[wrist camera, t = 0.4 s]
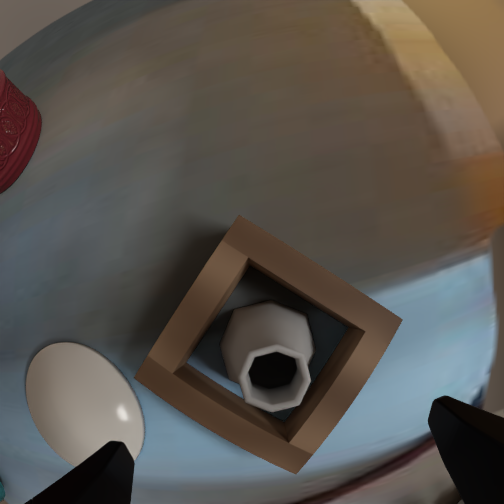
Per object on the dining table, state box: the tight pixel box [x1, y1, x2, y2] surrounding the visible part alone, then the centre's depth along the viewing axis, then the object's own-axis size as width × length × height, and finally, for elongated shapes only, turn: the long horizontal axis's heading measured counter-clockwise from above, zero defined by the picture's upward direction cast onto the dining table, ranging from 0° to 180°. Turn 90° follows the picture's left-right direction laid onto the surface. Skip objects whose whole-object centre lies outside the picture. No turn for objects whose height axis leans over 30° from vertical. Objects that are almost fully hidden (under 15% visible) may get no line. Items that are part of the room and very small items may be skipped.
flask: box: [219, 300, 316, 412], centre depth 17 cm, size 7×7×10 cm
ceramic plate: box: [26, 342, 145, 467], centre depth 21 cm, size 13×13×1 cm
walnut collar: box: [134, 215, 403, 474], centre depth 20 cm, size 13×13×4 cm
